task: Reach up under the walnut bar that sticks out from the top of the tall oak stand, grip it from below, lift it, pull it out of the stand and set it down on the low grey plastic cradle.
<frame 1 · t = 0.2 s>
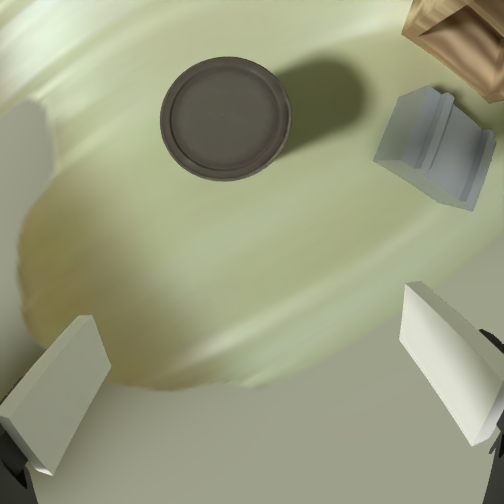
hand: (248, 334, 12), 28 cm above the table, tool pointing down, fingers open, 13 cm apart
coffee can: (232, 135, 36), on the table
grey cradle: (421, 150, 37), on the table
oak stand: (457, 38, 31), on the table
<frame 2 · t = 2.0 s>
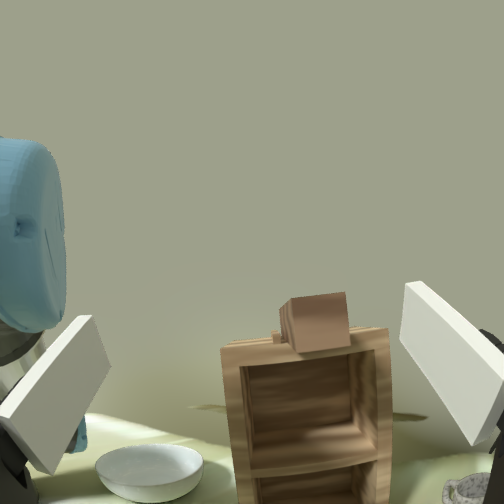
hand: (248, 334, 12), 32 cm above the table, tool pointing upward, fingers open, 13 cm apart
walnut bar: (304, 339, 33), point 30 cm above the table, touching oak stand
serving bowl: (154, 490, 45), on the table
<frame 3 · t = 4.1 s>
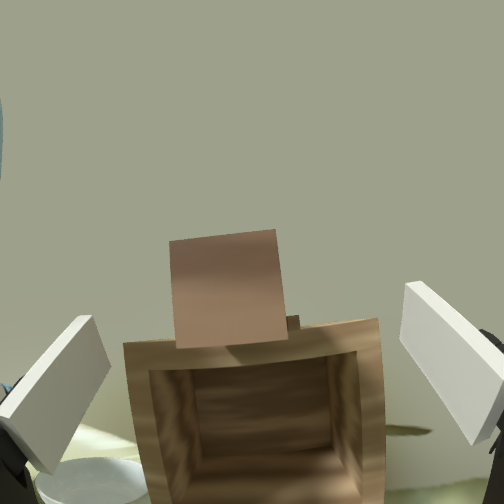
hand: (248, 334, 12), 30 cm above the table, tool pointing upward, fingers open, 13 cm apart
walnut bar: (249, 334, 22), point 30 cm above the table, touching oak stand
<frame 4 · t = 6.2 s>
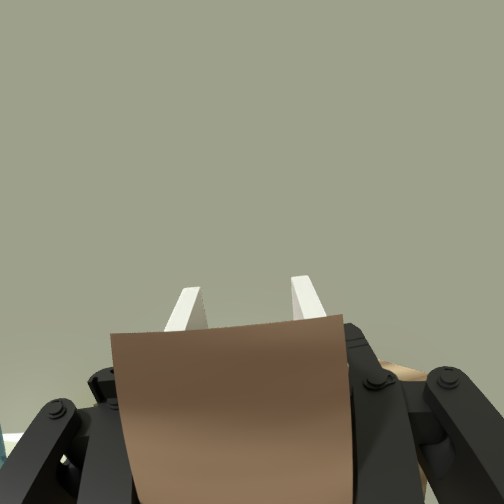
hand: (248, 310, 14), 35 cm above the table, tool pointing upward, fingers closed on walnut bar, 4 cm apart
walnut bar: (260, 396, 16), point 30 cm above the table, touching gripper, oak stand
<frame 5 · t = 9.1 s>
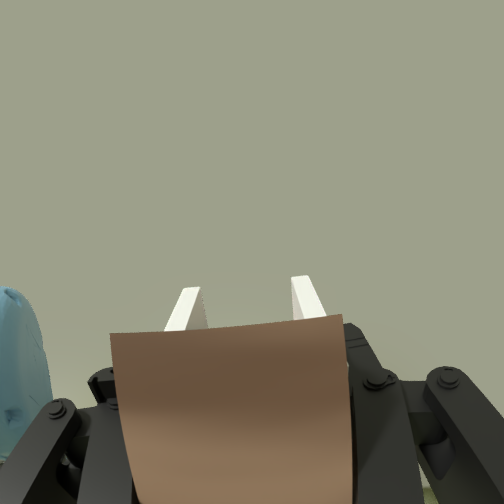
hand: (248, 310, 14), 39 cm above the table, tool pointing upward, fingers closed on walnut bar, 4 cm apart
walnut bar: (260, 396, 16), point 34 cm above the table, touching gripper
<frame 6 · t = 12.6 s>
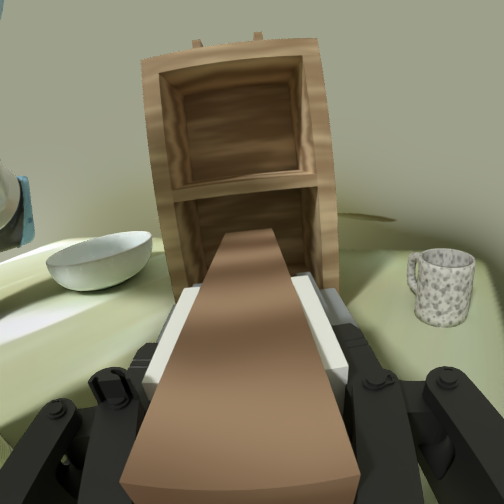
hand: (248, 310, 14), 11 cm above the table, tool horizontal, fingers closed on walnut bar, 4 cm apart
mug: (431, 308, 32), on the table
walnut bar: (254, 342, 16), point 8 cm above the table, touching grey cradle, gripper
serving bowl: (106, 282, 54), on the table
grey cradle: (266, 422, 20), on the table
oak stand: (258, 297, 41), on the table
when the fingers open (11 cm above the table, at t = 12.7 s): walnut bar stays where it is, resting on grey cradle.
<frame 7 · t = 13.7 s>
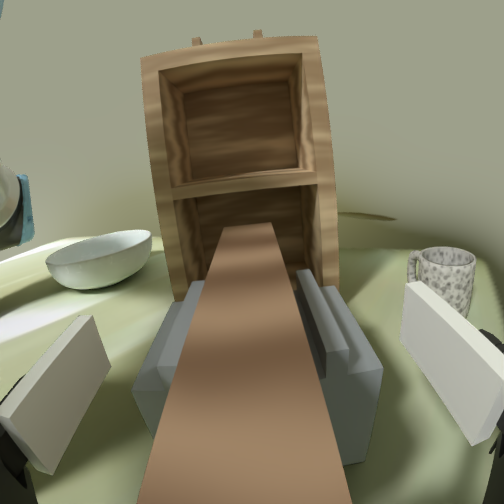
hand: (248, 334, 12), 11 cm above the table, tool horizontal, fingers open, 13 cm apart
mug: (432, 307, 32), on the table
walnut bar: (254, 346, 16), point 8 cm above the table, touching grey cradle
serving bowl: (105, 280, 54), on the table
grey cradle: (265, 421, 20), on the table
oak stand: (258, 295, 41), on the table
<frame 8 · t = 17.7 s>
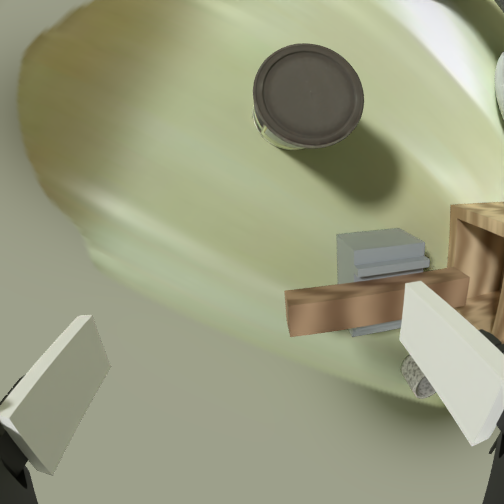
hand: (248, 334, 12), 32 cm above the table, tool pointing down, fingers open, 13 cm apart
mug: (422, 359, 51), on the table
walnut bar: (378, 293, 38), point 8 cm above the table, touching grey cradle
coffee can: (290, 113, 39), on the table
grey cradle: (368, 269, 45), on the table
oak stand: (476, 253, 45), on the table
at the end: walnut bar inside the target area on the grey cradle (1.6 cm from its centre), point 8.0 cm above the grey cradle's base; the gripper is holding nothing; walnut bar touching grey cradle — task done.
